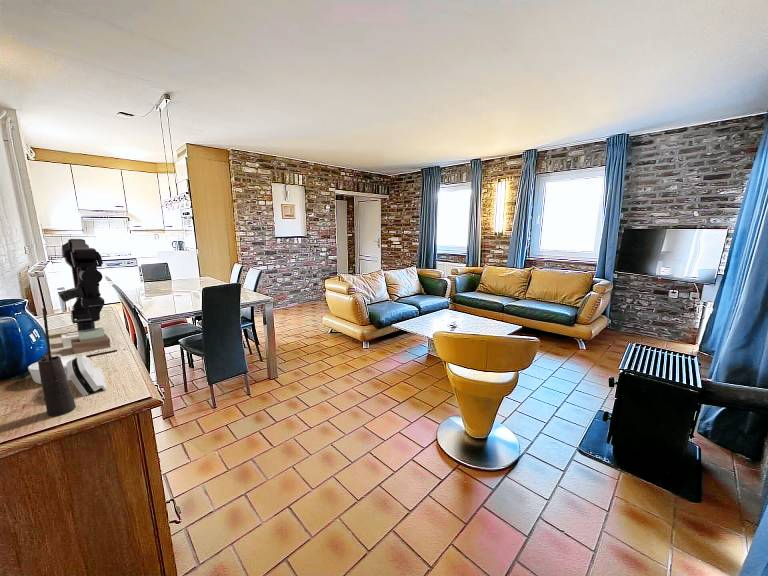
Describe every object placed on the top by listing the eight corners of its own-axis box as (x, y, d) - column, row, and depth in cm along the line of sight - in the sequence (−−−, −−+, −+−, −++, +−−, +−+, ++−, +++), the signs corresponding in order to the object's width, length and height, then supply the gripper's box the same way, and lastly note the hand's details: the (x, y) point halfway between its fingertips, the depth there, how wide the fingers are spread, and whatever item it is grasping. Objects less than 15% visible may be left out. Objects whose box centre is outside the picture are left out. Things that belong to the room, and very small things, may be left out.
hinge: (106, 390, 90) (87, 363, 86) (86, 401, 87) (65, 373, 84) (103, 372, 102) (86, 347, 98) (85, 380, 99) (66, 355, 95)
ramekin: (81, 378, 97) (79, 363, 96) (28, 390, 89) (25, 373, 89) (81, 367, 105) (79, 353, 104) (32, 377, 97) (30, 361, 97)
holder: (62, 346, 123) (61, 334, 122) (93, 341, 130) (91, 330, 129) (64, 350, 119) (62, 338, 118) (95, 345, 125) (94, 333, 125)
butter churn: (33, 409, 80) (16, 304, 75) (84, 397, 86) (71, 300, 82) (29, 425, 73) (10, 312, 69) (84, 410, 80) (70, 306, 76)
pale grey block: (80, 348, 118) (77, 330, 117) (104, 344, 123) (102, 327, 122) (81, 350, 116) (78, 333, 114) (105, 346, 121) (103, 329, 120)
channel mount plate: (66, 350, 119) (64, 338, 118) (110, 343, 129) (109, 331, 128) (70, 360, 110) (68, 347, 109) (117, 351, 120) (115, 339, 119)
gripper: (57, 279, 120) (62, 317, 123) (60, 286, 108) (66, 328, 111) (95, 277, 129) (99, 312, 131) (102, 283, 117) (106, 322, 120)
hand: (92, 318), depth 123 cm, fingers open, 9 cm apart
